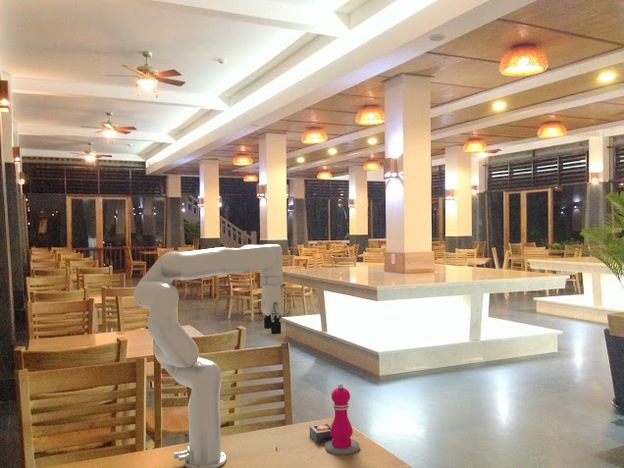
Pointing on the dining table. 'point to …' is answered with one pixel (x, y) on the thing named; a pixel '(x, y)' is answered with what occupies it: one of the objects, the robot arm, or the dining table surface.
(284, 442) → the dining table surface
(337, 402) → the pepper mill
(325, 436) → the button housing
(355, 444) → the pad
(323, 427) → the button
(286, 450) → the dining table surface
